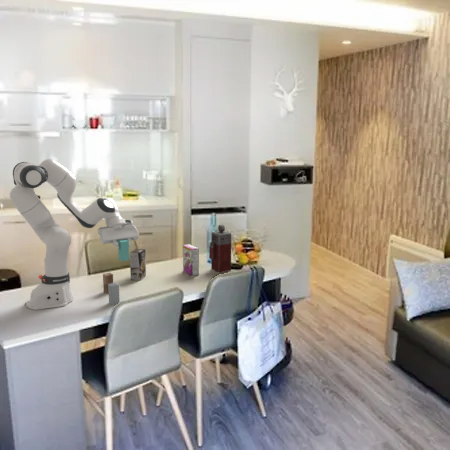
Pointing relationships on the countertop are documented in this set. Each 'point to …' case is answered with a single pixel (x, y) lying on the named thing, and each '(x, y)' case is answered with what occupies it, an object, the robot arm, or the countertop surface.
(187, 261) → the candy bar box
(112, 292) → the slate block
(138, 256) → the coffee box
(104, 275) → the walnut block
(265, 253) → the countertop surface
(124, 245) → the teal block
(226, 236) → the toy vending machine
